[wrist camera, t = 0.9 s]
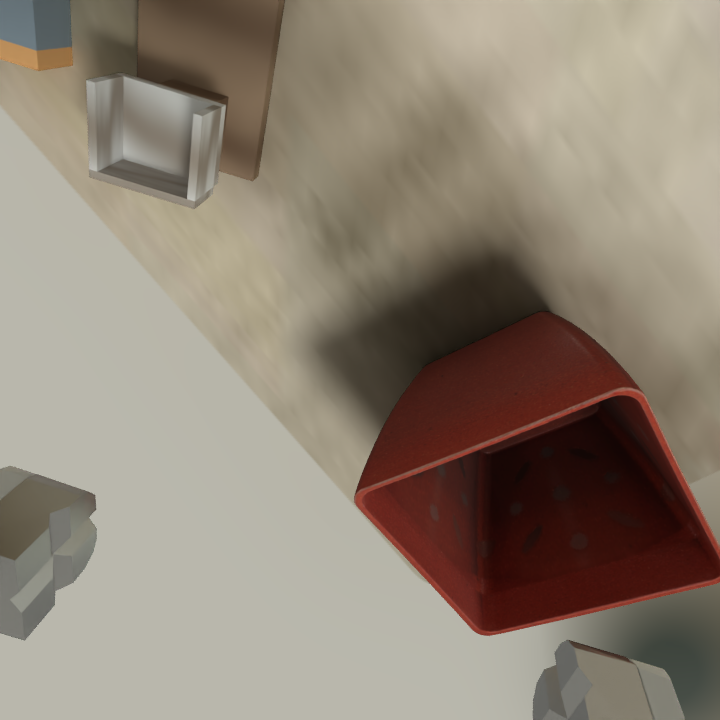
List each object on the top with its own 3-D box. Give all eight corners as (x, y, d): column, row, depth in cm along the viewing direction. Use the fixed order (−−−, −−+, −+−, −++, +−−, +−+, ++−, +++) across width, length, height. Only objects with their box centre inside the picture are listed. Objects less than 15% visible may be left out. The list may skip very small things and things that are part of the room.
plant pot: (654, 420, 49) (738, 583, 35) (470, 485, 57) (480, 640, 43) (572, 256, 42) (639, 382, 28) (371, 357, 49) (345, 495, 35)
